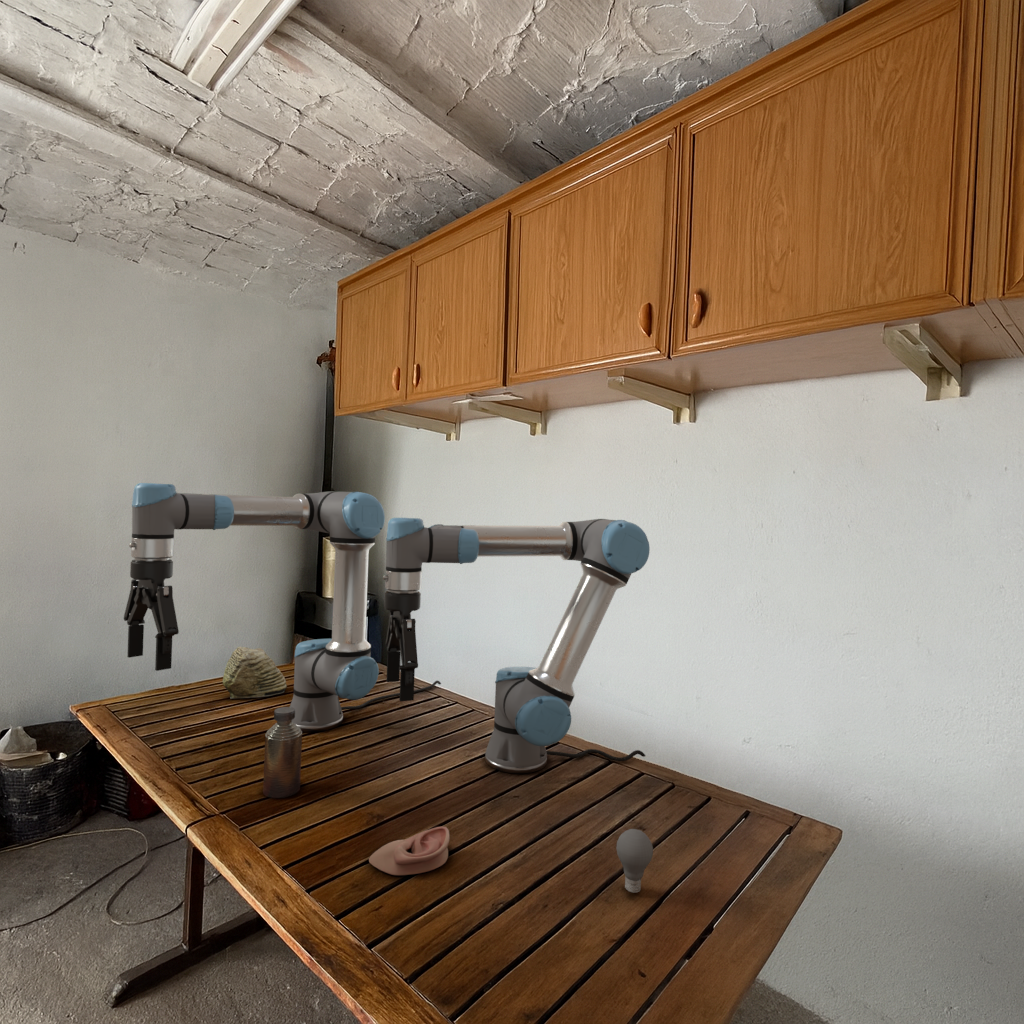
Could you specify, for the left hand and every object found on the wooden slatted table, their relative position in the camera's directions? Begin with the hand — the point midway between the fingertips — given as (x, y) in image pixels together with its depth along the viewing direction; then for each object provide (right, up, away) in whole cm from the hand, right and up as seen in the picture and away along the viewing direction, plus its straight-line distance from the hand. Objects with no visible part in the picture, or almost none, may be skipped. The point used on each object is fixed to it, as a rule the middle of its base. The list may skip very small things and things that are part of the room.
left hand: (148, 662), depth 129 cm
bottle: (+25, -29, +7) cm, 39 cm away
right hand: (+50, -7, +5) cm, 51 cm away
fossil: (-6, -27, +69) cm, 74 cm away
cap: (+25, -12, +6) cm, 29 cm away
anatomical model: (+56, -31, -17) cm, 66 cm away
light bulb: (+94, -33, -24) cm, 103 cm away
